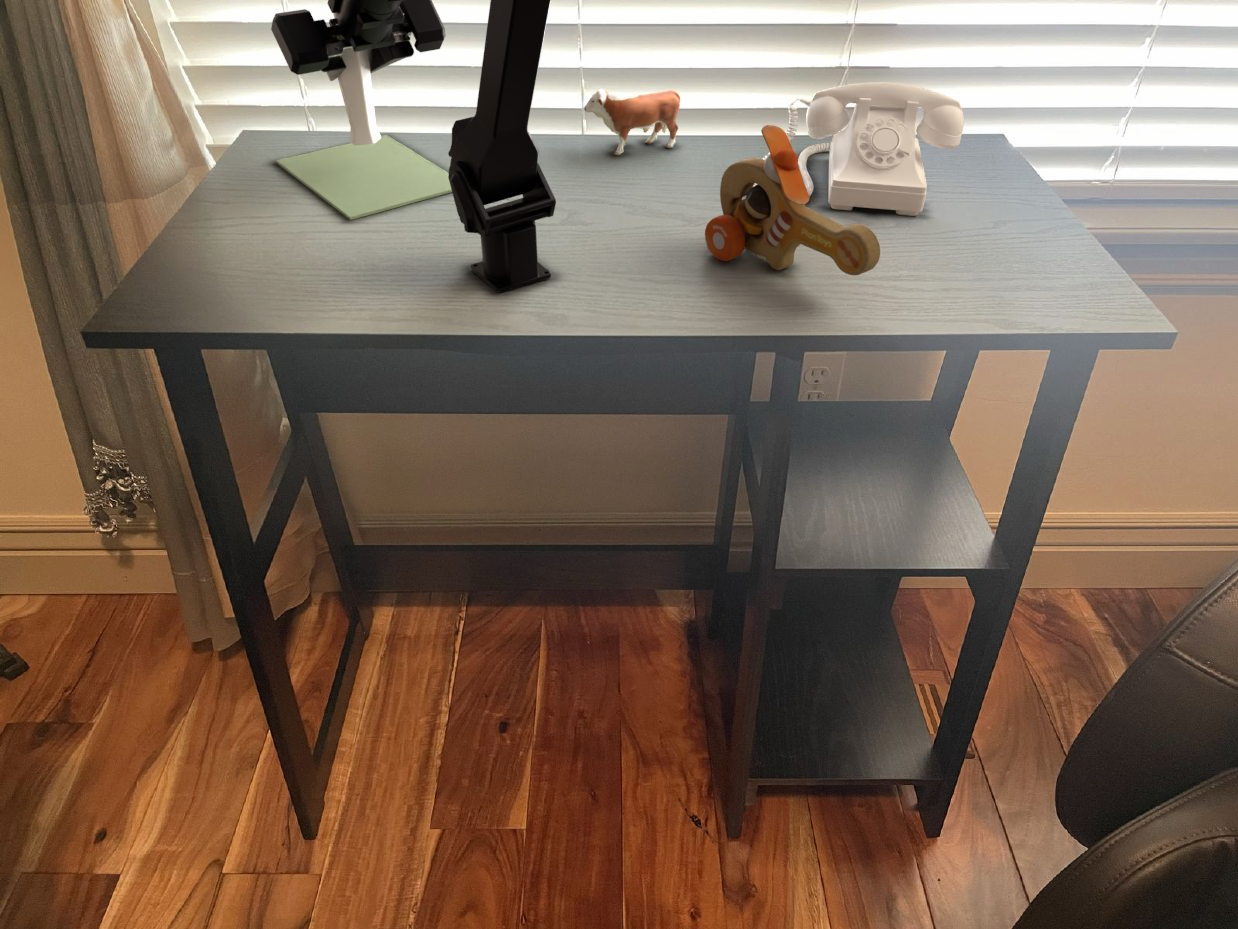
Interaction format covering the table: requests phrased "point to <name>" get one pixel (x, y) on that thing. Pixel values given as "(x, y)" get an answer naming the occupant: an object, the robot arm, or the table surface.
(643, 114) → the bull figurine
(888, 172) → the telephone
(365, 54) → the perfume bottle
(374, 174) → the mat
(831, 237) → the toy helicopter
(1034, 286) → the table surface
